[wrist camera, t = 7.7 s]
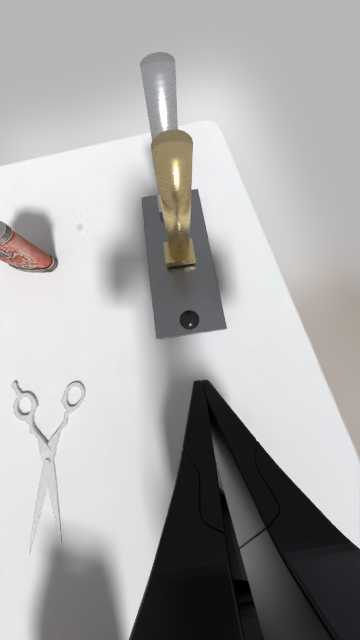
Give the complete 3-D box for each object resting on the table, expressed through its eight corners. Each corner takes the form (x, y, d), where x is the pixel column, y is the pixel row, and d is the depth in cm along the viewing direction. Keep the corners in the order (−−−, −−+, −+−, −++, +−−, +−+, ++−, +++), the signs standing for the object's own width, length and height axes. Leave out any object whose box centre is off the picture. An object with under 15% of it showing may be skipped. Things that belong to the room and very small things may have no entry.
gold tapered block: (195, 263, 22) (206, 158, 10) (166, 267, 22) (143, 168, 10) (191, 242, 23) (198, 122, 11) (164, 247, 23) (139, 131, 11)
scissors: (83, 370, 21) (87, 550, 17) (86, 369, 22) (91, 541, 17) (11, 382, 21) (-3, 565, 17) (17, 381, 22) (5, 556, 18)
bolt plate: (224, 329, 22) (292, 294, 8) (158, 339, 22) (110, 321, 8) (197, 196, 27) (209, 33, 13) (143, 204, 27) (99, 51, 13)
